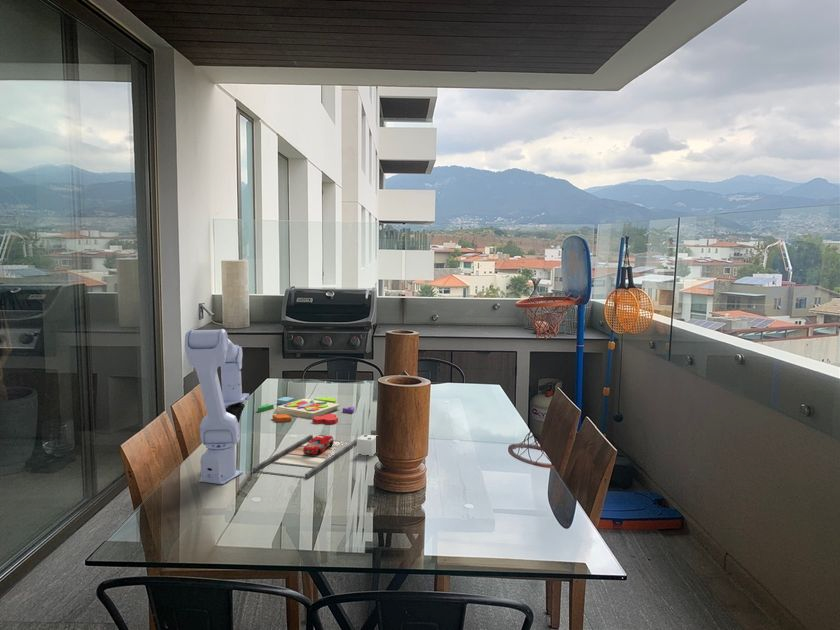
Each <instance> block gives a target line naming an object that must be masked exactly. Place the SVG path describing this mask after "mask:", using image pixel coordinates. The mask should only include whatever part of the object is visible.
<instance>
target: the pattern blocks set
mask: <svg viewBox="0 0 840 630" xmlns="http://www.w3.org/2000/svg"><path fill="white" fill-rule="evenodd" d="M276 404H278V406H277V407H275V409H274V404H273V403H272V404H269V403H266V404H263V405H260V406H258V407H257V413H263V412H264V411H265V412H267V411H270V410H274V411H273V414H272V419H273V420H274V421H275V422H276V423H285V422H288V423H289V422H292V419H293V417H297V418H305V419H312V423H313V424H316V425H319V424H325V425H334V424H335V425H336V424H338V422H339V417H337V414H335V413H331V412H333V411H335V410H337V409H338V408H339V407H340V406H341V404H339V403H337V399H336V397H329V396H328V397H327V396H324V397H317V398H314V399H310V398H302V399H297V400H295V398H294V397H290V396H283V397H280V398H277V399H276ZM354 412H355V405H354V406H349V407H348V406H347V407H342V413H346V414H354Z"/></svg>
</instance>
